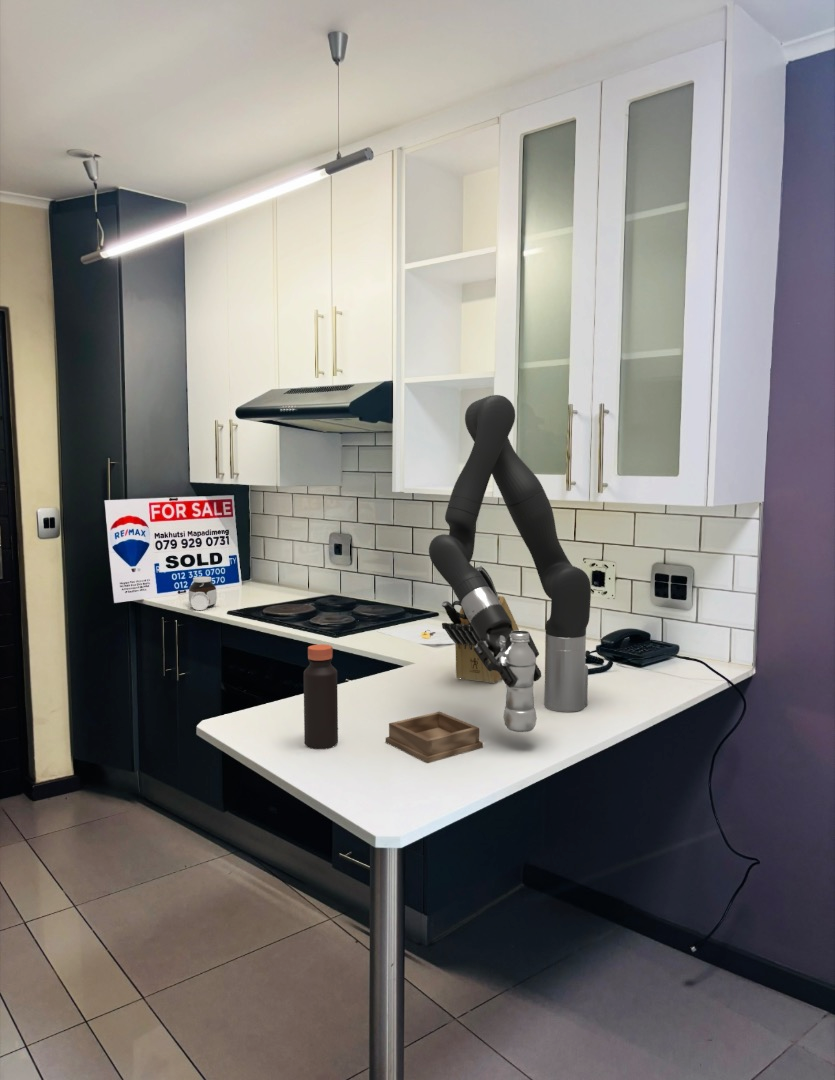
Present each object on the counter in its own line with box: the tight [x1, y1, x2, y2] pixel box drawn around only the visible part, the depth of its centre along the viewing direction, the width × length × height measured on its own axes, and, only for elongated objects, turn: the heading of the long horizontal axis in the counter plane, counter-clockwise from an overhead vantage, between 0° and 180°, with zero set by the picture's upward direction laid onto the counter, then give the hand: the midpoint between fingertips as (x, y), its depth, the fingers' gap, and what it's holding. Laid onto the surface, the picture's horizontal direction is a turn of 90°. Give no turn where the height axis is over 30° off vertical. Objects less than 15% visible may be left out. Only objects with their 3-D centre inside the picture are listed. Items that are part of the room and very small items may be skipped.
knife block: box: [441, 565, 520, 684], centre depth 214 cm, size 11×35×31 cm, turn 151°
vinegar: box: [303, 644, 339, 750], centre depth 162 cm, size 7×7×20 cm
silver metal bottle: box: [503, 629, 537, 733], centre depth 160 cm, size 6×7×20 cm
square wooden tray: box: [385, 711, 484, 764], centre depth 162 cm, size 14×14×4 cm
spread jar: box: [188, 576, 218, 611], centre depth 311 cm, size 12×11×12 cm
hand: (525, 681), depth 159 cm, fingers closed on silver metal bottle, 6 cm apart
